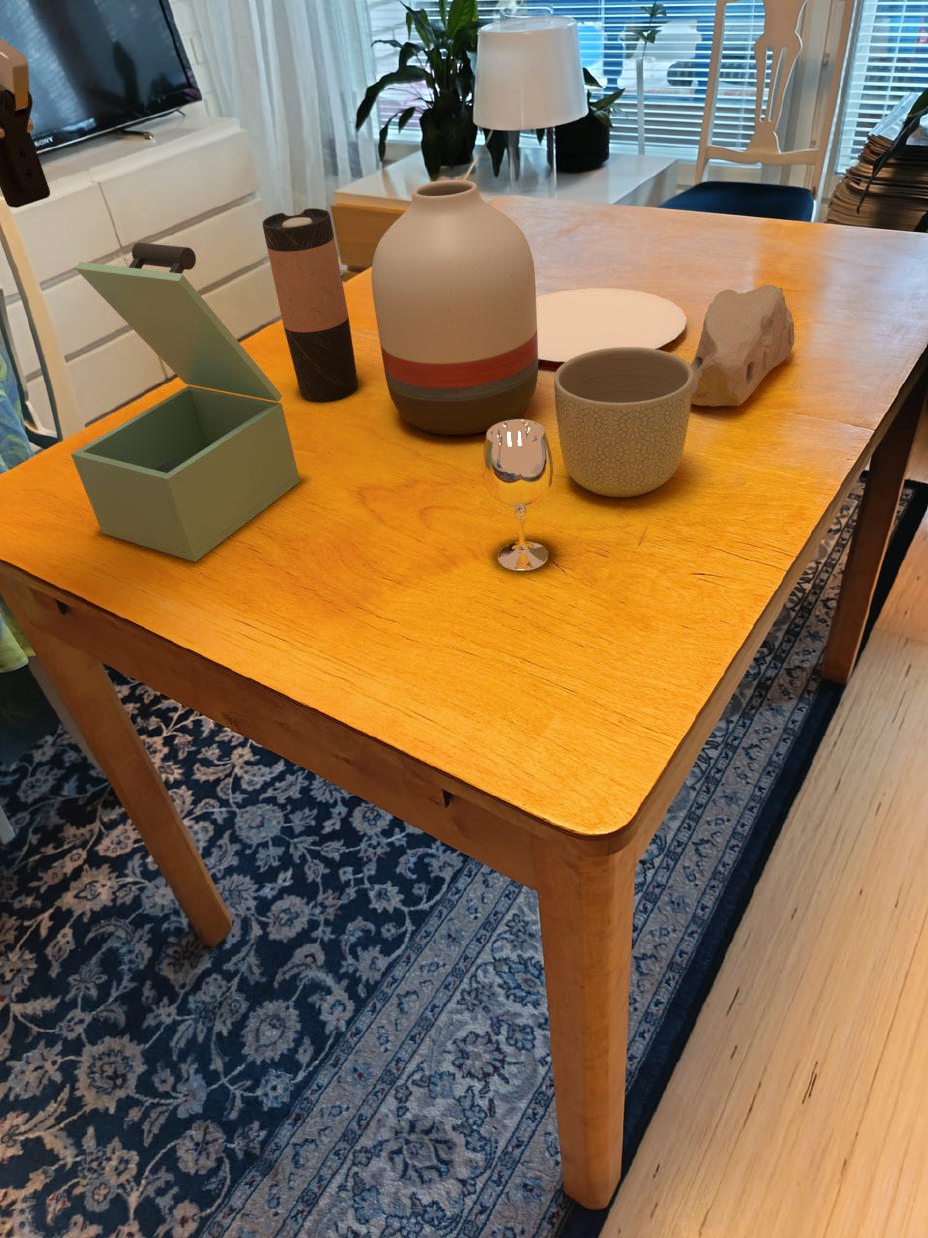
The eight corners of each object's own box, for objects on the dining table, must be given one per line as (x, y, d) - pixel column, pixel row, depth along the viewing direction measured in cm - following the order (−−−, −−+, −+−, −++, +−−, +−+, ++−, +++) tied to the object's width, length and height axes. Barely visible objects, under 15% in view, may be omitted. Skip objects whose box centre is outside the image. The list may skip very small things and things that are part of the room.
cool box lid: (177, 280, 74) (206, 233, 75) (74, 268, 79) (103, 224, 81) (279, 402, 88) (301, 360, 89) (185, 384, 93) (207, 345, 95)
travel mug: (334, 407, 107) (299, 230, 94) (285, 397, 110) (246, 225, 98) (372, 381, 112) (344, 209, 99) (325, 372, 115) (292, 205, 103)
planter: (531, 479, 90) (526, 375, 83) (623, 436, 95) (625, 335, 88) (618, 528, 81) (620, 417, 75) (713, 479, 87) (723, 371, 80)
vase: (561, 387, 106) (555, 166, 91) (506, 455, 94) (490, 214, 79) (431, 374, 112) (406, 165, 97) (365, 436, 100) (325, 210, 85)
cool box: (195, 562, 83) (167, 478, 78) (102, 533, 89) (70, 453, 84) (300, 482, 94) (281, 403, 88) (210, 460, 99) (188, 385, 94)
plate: (728, 328, 115) (729, 315, 114) (582, 392, 104) (582, 378, 103) (591, 286, 131) (591, 274, 130) (453, 338, 120) (452, 325, 119)
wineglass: (569, 552, 79) (566, 427, 72) (527, 583, 76) (519, 456, 69) (519, 531, 83) (511, 409, 75) (476, 560, 80) (464, 437, 72)
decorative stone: (733, 427, 94) (743, 334, 88) (666, 413, 98) (671, 323, 92) (799, 354, 107) (812, 268, 100) (738, 345, 110) (746, 261, 104)
